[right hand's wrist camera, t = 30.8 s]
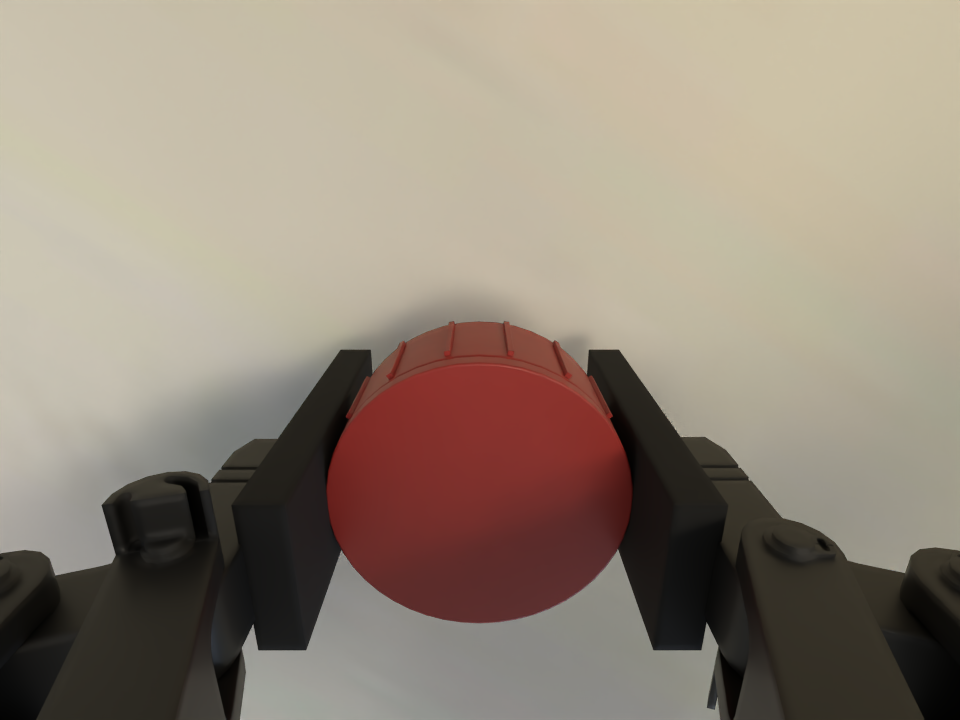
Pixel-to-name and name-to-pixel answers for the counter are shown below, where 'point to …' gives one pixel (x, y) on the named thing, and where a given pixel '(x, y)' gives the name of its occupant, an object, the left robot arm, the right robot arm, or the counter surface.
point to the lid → (479, 476)
